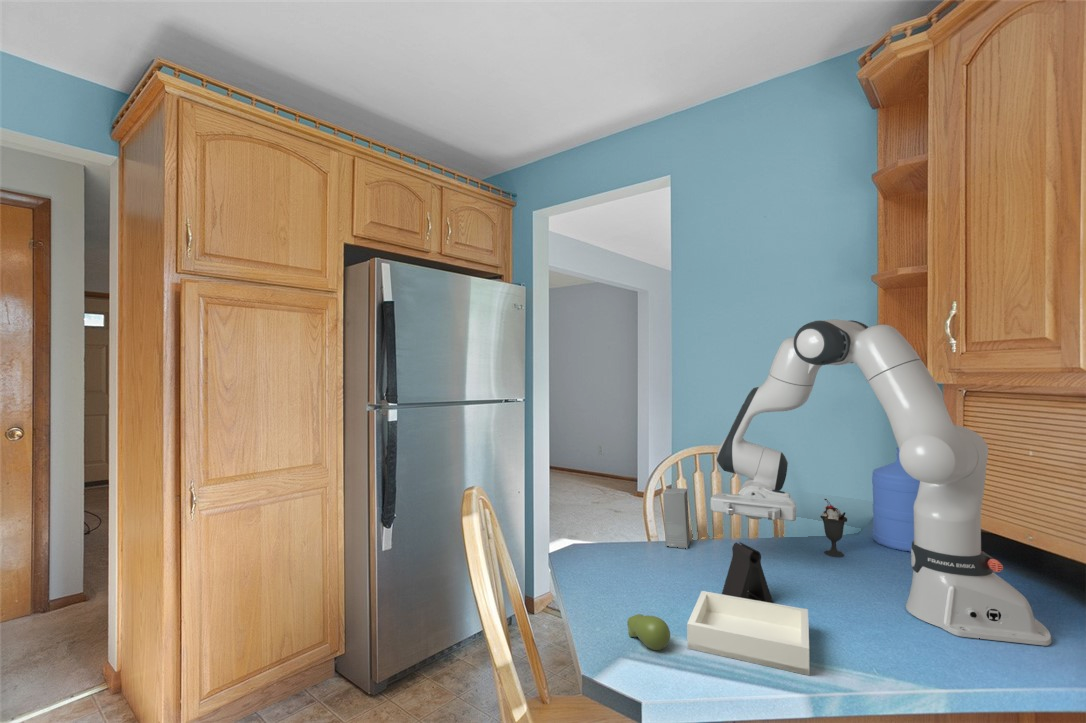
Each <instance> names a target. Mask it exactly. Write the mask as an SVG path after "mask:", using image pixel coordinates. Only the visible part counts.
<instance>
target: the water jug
mask: <svg viewBox="0 0 1086 723" xmlns="http://www.w3.org/2000/svg"><path fill="white" fill-rule="evenodd" d="M871 484H872V518H873V520H872V525H873V527H872V528H873V529H872V538H873V541H875V543H877V544H879V545H881V546H883V547H887V548H889V549H892V550H896V549H897V550H896V551H901V550H902V552H907V551H909V552H908V553H911V548H912V542H913V541H914V502H915V500H916V497H917V494H918V490H919V485H920V481H919V480H916V479H915V478H913V477H911V476H910V475H909V474H908V473H907V472H906V471H905V470H904V469H903V467H902V465H901V463H900V459H899V447H896V461H894V462H892V463H890V464H885V465H883V466H880V467H876V468H874V469H873V470H872V476H871Z"/></svg>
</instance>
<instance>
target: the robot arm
mask: <svg viewBox="0 0 1086 723" xmlns="http://www.w3.org/2000/svg"><path fill="white" fill-rule="evenodd" d="M846 364H855V365H857V367H858V368H859V369H860V370H861V372H862V373H863V375H864V377H865V378H866V381H867V382H868V383H869V386H870V388H871V389H872V391H873V393H874V394H875V396H876V397H877V399H878V402H879V403H880V405H881V407H882V408H883V410H884V412H885V415H887V419H888V421H889V424H890V427H891V430H892V432H893V436H894V438H895V442H896V444H897V448H899V459H900V463H901V465H902V467H903V469H904V470H905V471H906V472H907V473H908V474H909V475H910V476H911V477H913V478H915V479H916V480H919V481H920V485H919V490H918V494H917V497H916V500H915V502H914V541H913V542H912V548H911V552H910V561H911V562H910V563H911V564H910V565H911V567H912V569H913V571H912V578H911V579H912V580H911V585H910V590H909V591H910V592H909V594H908V599H907V601H906V604H905V608H906V611H907V612H908V613H910V614H911V616H914V617H915V618H918V619H919V620H920V621H922V622H926V623H928V624H931V625H933V626H936V627H938V628H941V629H943V630H944V631H946V632H947V633H948V632H949V633H950V634H952V635H954V636H957V637H962V638H963V637H964V638H969V639H970V638H971V639H979V638H980V640H981V639H982V640H991V641H998V642H1000V641H1001V642H1008V643H1017V644H1018V643H1019V644H1027V645H1036V646H1037V645H1038V646H1043V647H1044V646H1050V645H1051V644H1052V642H1053V640H1052V635H1051V633H1050V631H1049V629H1048V628H1047V627H1046V626H1045V625H1044V624H1043V623H1042V622H1041V621H1039V620H1038V619H1036V618H1035V616H1034V612H1033V608H1032V607H1031V606H1032V605H1031V604H1030V602H1029V601H1028V599H1027V598H1026V597H1025V596H1024V595H1023V594H1022V593H1021V592H1020V591H1018V590H1017V589H1016V588H1015V587H1014V586H1012V585H1011V584H1010V583H1009V582H1007V581H1006V580H1005V579H1003V578H1002V577H1000V576H999V575H998V574H996V573H1001V572H1002V571H1003V570H1004V566H1003V564H1002V563H1001V562H1000V561H999V560H998V559H995V558H994V557H993V556H991V555H989V554H987V553H986V552H984V551H982V528H981V527H982V526H981V525H982V524H981V523H982V520H981V519H982V518H981V517H982V506H983V499H984V493H985V486H986V485H985V484H986V474H987V463H988V457H989V448H988V445H987V443H986V440H985V439H984V438H983V437H982V436H981V435H980V434H978V433H977V432H975V431H974V430H972V429H970V428H967V427H965V426H962V425H955V424H954V423H953V421H952V418H951V416H950V414H949V412H948V408H947V406H946V403H945V400H944V394H943V391H942V390H941V388H940V386H939V385H938V383H937V382H936V381H935V378H934V377H933V376H932V374H931V373H930V371H929V369H928V367H927V366H926V365H925V363H924V362H923V360H922V359H921V357H920V356H919V354H918V353H917V351H916V350H915V349H914V348H913V346H912V345H911V344H910V343H909V341H908V339H906V338H905V337H904V336H903V334H901V332H900V331H898V330H897V328H895V327H894V326H891V325H889V324H876V325H872V326H868V325H866V324H865V323H863V322H861V321H857V320H851V319H850V320H846V319H845V320H844V319H838V318H837V319H834V318H833V319H825V320H814V321H810V322H807V323H806V324H804V325H802V326H801V327H800V328H799V329H798V330H796V333H795V335H794V336H791V337H787V338H786V339H784V340H783V341H782V342H781V343H780V345H779V348H778V349H777V351H776V354H775V355H774V358H773V361H772V363H771V366H770V370H769V371H768V375H767V378H766V379H765V381H764V382H763V383H762V384H761V385H759V386H757V387H753V388H752V389H751V390H750V391H749V393H748V394H747V396H746V398H745V400H744V402H743V404H742V405H741V407H740V409H739V411H738V413H737V415H736V417H735V419H734V421H733V423H732V425H731V427H730V430H729V431H728V434H727V436H726V437H725V438H724V440H723V441H722V442H721V443H720V445H719V446H718V447H719V448H718V450H717V452H716V462H717V463H718V465H719V466H720V468H721V469H722V470H723V471H724V472H726V473H727V472H728V473H730V474H731V473H732V474H736V475H740V476H742V477H746V478H747V479H746V480H745V481H744V482H743V484H742V485H741V487H740V489H739V491H738V493H737V494H733V493H724V492H722V493H721V492H719V493H715V494H713V495H712V496H710V502H709V503H710V511H712V512H714V513H723V514H726V515H728V516H734V515H737V516H745V517H746V518H747V519H748V518H749V519H751V520H761V519H767V520H769V521H775V520H780V521H788V522H789V521H790V522H795V521H796V520H797V506H796V502H795V500H794V499H793V498H791V493H790V492H786V491H783V490H782V489H783V487H784V484H785V482H786V479H787V478H786V477H787V473H788V467H789V466H788V464H789V462H788V460H787V458H786V456H785V454H784V453H783V452H782V451H779V450H777V449H772V448H771V447H766V446H763V445H759V444H756V443H753V442H750V441H747V440H746V439H744V438H743V437H744V436H745V433H746V431H747V430H748V428H749V426H750V424H751V422H752V420H753V419H754V418H755V416H758V415H760V414H763V413H774V412H778V413H779V412H788V411H792V410H795V409H798V408H800V407H802V406H804V405H805V404H806V403H807V401H808V400H809V398H810V395H811V393H812V391H813V388H814V386H815V382H816V379H817V378H816V377H817V375H818V372H819V370H820V368H821V367H822V366H826V365H827V366H829V365H830V366H843V365H846Z"/></svg>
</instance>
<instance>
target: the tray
mask: <svg viewBox="0 0 1086 723" xmlns="http://www.w3.org/2000/svg"><path fill="white" fill-rule="evenodd" d="M809 628H810V626H809V609H807V608H804V607H803V608H802V607H798V606H797V607H796V606H790V605H784V604H780V603H779V604H778V603H775V602H773V603H768V602H763V601H757V600H751V599H746V598H740V597H734V596H729V595H723V594H722V593H716V592H711V591H705V590H701V591H700V594H699V596H698V598H697V601H696V603H695V605H694V608H693V610H692V611H691V614H690V617H689V619H688V620H687V623H686V633H687V634H686V636H687V638H686V641H687V645H686V646H687V647H686V648H687V650H688V649H689V650H692V651H697V652H702V653H707V654H711V655H715V656H720V657H724V658H727V659H732V658H734V660H737V659H738V661H741V660H742V661H741V662H745V661H746V662H745V663H750V664H754V665H760V666H765V667H767V668H768V667H769V668H773V669H777V670H781V671H787V672H791V673H795V674H799V675H804V676H808V677H810V672H811V671H810V634H809V633H810V632H809V631H810V630H809Z"/></svg>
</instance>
